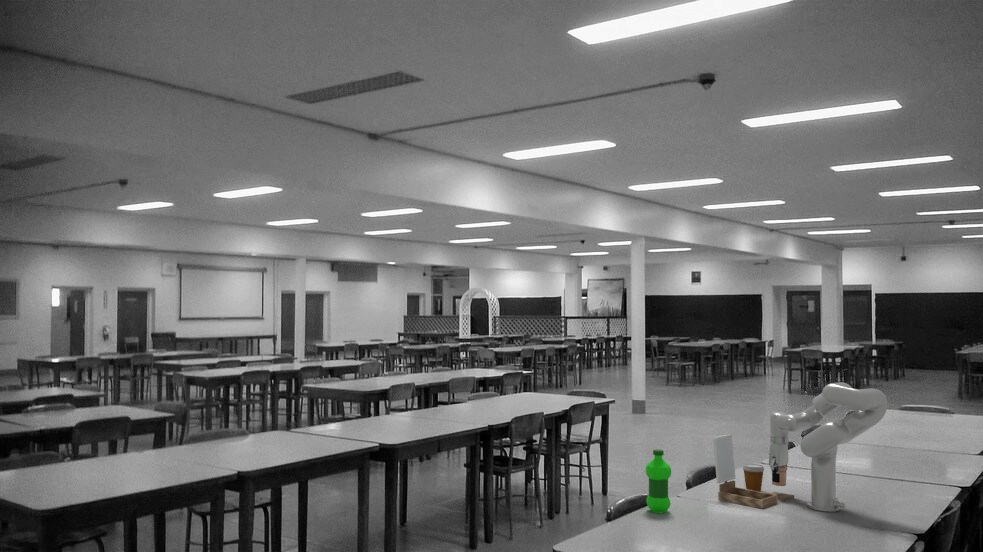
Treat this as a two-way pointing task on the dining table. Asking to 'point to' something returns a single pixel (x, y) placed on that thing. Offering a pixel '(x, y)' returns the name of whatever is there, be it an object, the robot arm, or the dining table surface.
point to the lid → (724, 458)
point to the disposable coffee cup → (753, 476)
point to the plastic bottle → (658, 483)
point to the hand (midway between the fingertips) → (779, 480)
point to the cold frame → (745, 496)
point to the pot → (781, 476)
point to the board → (783, 496)
